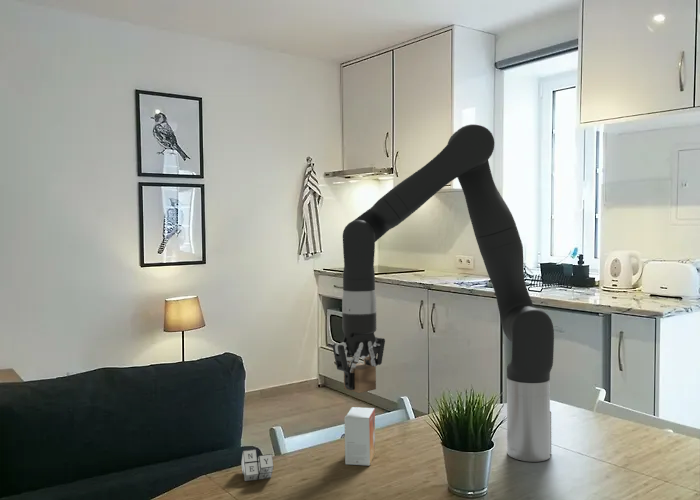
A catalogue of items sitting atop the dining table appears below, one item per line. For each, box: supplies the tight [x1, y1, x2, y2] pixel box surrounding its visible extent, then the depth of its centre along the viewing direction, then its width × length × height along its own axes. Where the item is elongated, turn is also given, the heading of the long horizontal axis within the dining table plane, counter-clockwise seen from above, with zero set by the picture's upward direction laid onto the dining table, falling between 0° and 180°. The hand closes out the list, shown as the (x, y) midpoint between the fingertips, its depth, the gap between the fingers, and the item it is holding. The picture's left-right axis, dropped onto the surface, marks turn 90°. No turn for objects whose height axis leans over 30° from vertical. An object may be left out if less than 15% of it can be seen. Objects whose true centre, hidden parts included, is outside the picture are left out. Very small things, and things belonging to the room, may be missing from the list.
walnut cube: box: [343, 362, 377, 394], centre depth 134 cm, size 5×5×5 cm
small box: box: [343, 406, 376, 466], centre depth 135 cm, size 8×6×10 cm
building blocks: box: [240, 448, 274, 482], centre depth 125 cm, size 5×5×8 cm
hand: (359, 386), depth 134 cm, fingers closed on walnut cube, 5 cm apart
